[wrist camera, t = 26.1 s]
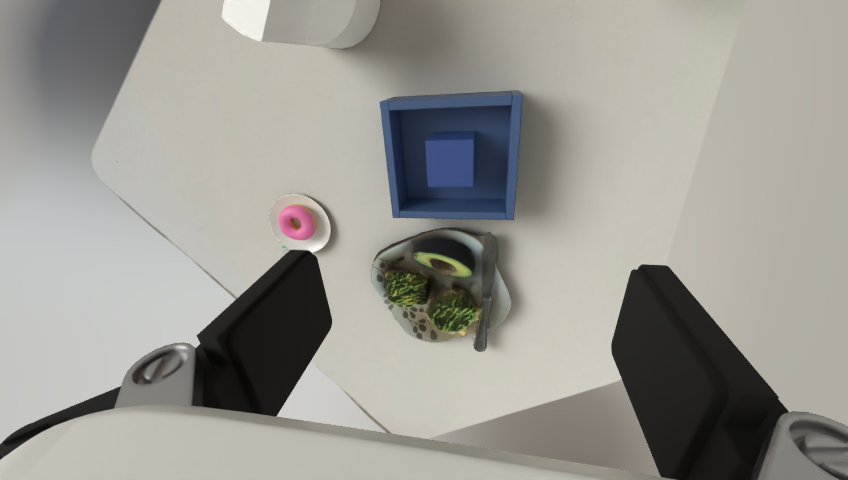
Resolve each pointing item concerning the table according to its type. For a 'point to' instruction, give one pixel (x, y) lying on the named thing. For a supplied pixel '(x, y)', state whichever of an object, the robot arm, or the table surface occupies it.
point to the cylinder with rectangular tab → (303, 20)
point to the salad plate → (443, 285)
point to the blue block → (451, 159)
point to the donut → (299, 223)
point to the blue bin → (444, 113)
